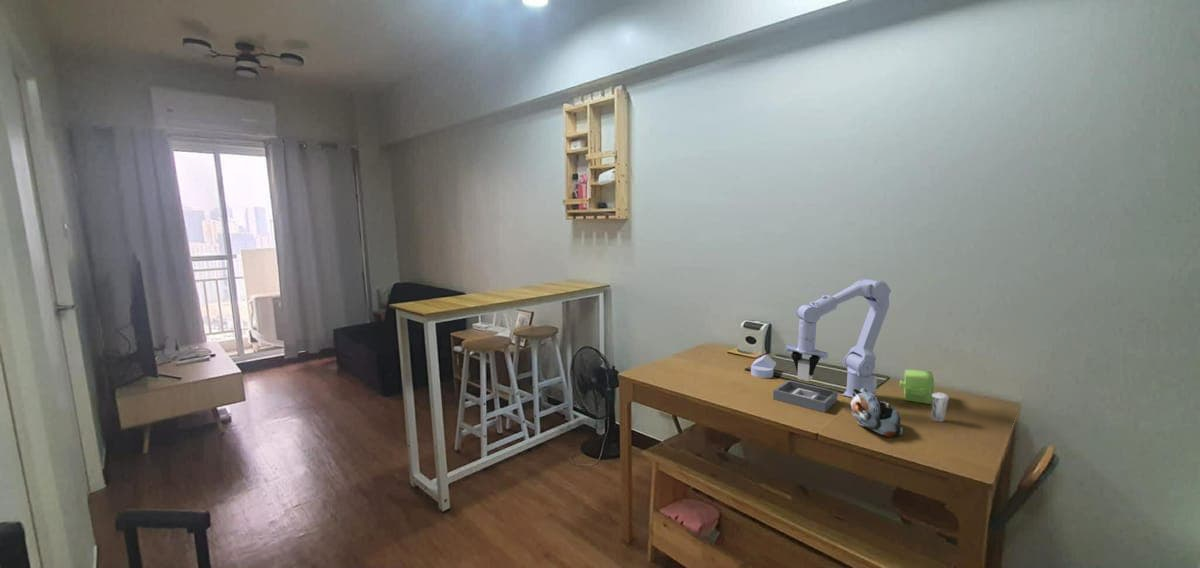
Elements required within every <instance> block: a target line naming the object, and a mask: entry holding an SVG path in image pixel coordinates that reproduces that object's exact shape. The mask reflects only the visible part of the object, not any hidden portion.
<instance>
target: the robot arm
mask: <svg viewBox="0 0 1200 568" xmlns="http://www.w3.org/2000/svg"><path fill="white" fill-rule="evenodd" d="M891 292H892V291H891V288H890V286H889V285H888V284H887V283H886V282H885V281H883V280H882V281H879V280H874V279H870V278H868V277H866V278H865V277H864V278H861V279H860V280H856V281H855V282H853V284H852V285H850V286H849V287H846V288H844V289H843V290H841V291H839V292H838V293H835V294H834V295H832V296H831V295H826V294H823V295H822V296H821V298H819V299H817V300H814V301H810V302H809V304H803V305H801V306H800V307H799V308H798V310H797V311H796V316H797V318H798V322H799V323H798V339H797V346H796V345H789V344H787V345H786V346H785V347H784V348H785V352H791V354H790V356H791V358H792V360H793V362H794V366H795V370H796V374H797V373H798V360H800V359H802V358H803V355H805V356H810V357H809V358H808V359H809V361H810V371H809V375H811V376H812V377H813V375H814V374H815V373H814V372H815V369H816V367H817V364H818V363H819V361H820V359H823V360H827V359H828V357H829V352H828V351H827V352H826V351H822V350H819V349H816V334H817V323H818V321H819V320H820V319H821V317H822V316H825V315H827V314H829V313H830V312H832V311H835V310H836V309H837V307H838V305H840V304H842V303H845V302H847V301H849V300H851V299H853V298H855V297H863V298H864V299H866V301H867V302H868V304H869V305H870V306H869V310H868V312H867V315H866V318H865V320H864V323H863V326H862V329H861V331H860V333H859V334H860V335H859V338H858V340H857V343H856V345H854V346H852V347H851V348H850V349H849V351H848V353H847V354H846V355H845V357H844V361H843V362H844V365H845V366H846V367H847V368H846V370H847V373H846V374H847V375H846V376H847V378H846V388H845V389H846V390H845V391H844V392H843V393H842V396H844V397H847V398H851V399H853V393H854V389H857V390H859V391H860V390H861V389H862V388H864V389H866V390H867V392H868V393H873V394H875V395H876V394H877V384H878V383H877V382H878V379H877V376H876V375H872V374H873V373H874V372H875V369H876V364H875V363H876V359H877V358H876V355H875V353H874V351H873V350H874V347H876V346H875V345H876V342H877V340H878V337H879V336H880V332H881V330H882V325H884V322H885V318H886V316H887V314H888V310H889V307H890V295H891ZM876 396H877V395H876Z"/></svg>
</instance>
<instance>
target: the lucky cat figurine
mask: <svg viewBox="0 0 1200 568" xmlns="http://www.w3.org/2000/svg"><path fill="white" fill-rule="evenodd" d="M851 399H852V400H851V401H850V411H851V414H852V415H853V417H854V418H855V419H856V421H857V424H858V425H859V426H861V427H866V428H867V429H870V430H872V431H874V432H876V433H877V434H879V435H882V436H884V437H886V438H896V437H898V436H902V435H903V431H904V428H903V426H902V425H901V417H900V414H899V411H898V410H896V409H895V408H894V407H893V406H892V405H891V404H890V403H889V402H886V401H884V400H882V401H881V400H879V398H878V396H877V395H875V394H873V393H868V392H867V390H866V389H864V388H862V389H861V390H860V391H859V390H857V389H854V393H853V398H851Z"/></svg>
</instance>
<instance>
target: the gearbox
mask: <svg viewBox="0 0 1200 568" xmlns="http://www.w3.org/2000/svg"><path fill="white" fill-rule="evenodd" d="M934 382H935V379H934V376H933V372H932V371H929V370H917V369H904V381H903V380H899V388H903V392H904V400H905V401H908V402H909V401H910V402H915V403H922V404H927V405H929V404H931V405H932V395H931V394H933V393H934V391H935V389H934V385H935V384H934ZM929 389H930V390H929ZM930 391H931V392H930Z"/></svg>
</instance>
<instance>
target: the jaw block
mask: <svg viewBox="0 0 1200 568" xmlns="http://www.w3.org/2000/svg"><path fill="white" fill-rule="evenodd" d="M809 371H810V361H809V358H803V357H802V359H800V360H798V373H797V372H796V374H797V376H796V377H797V378H796V379H797V380H801V381H805V382H810V381H811V380H812V379H813V375H812V376H811V375H809Z"/></svg>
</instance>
